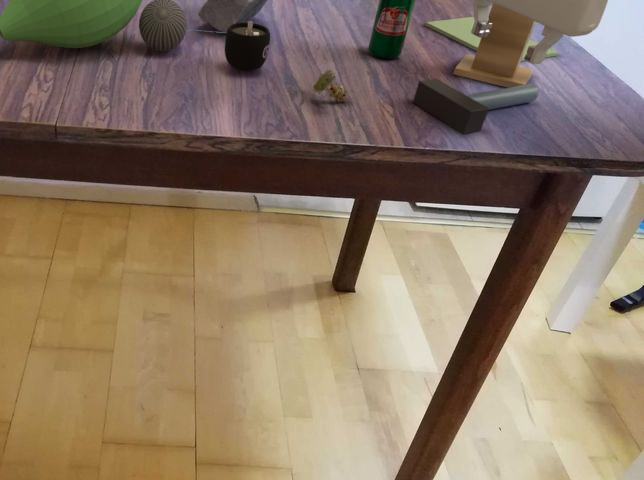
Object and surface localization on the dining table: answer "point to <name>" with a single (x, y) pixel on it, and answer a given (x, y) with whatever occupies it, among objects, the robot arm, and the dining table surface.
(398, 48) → the soda can
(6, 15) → the balloon
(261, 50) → the mug
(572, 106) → the dining table surface
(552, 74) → the dining table surface
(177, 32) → the lollipop
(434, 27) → the mat
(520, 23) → the stand
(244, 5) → the rock
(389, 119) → the dining table surface
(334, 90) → the soldier figurine
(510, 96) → the hammer
